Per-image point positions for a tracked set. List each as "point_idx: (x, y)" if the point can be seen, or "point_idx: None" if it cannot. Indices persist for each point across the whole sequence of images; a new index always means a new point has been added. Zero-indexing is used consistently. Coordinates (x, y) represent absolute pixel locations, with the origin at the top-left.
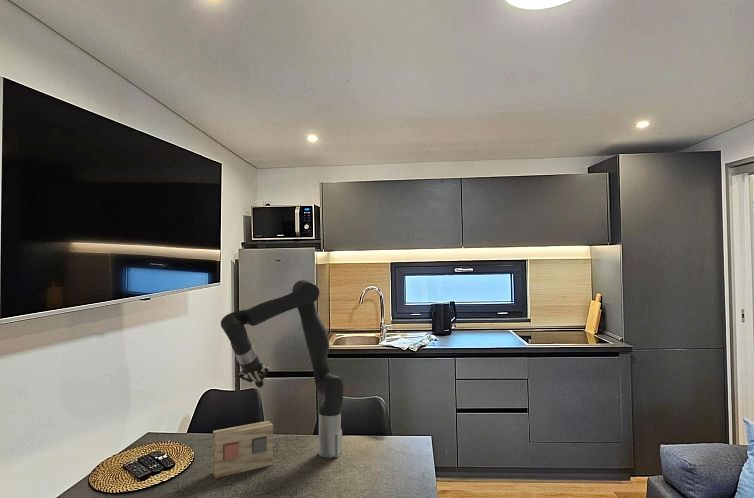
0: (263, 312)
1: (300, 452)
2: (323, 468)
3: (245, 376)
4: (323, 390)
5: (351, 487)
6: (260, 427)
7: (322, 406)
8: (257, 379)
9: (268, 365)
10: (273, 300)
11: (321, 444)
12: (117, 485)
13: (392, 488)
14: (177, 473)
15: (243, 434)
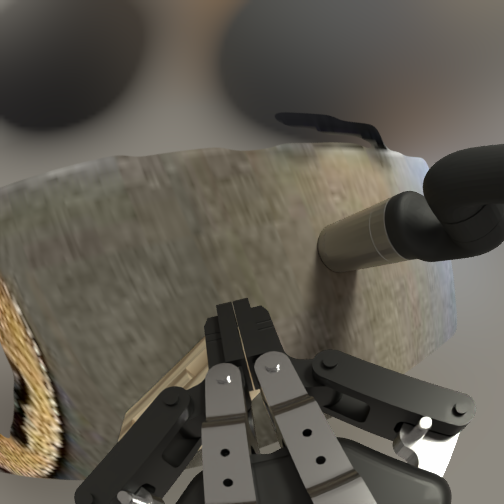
0: None
1: (277, 252)
2: (348, 320)
3: (160, 486)
4: (467, 246)
5: (398, 366)
6: (251, 398)
7: (420, 249)
8: (270, 416)
9: (474, 408)
10: None
11: (346, 266)
12: (11, 458)
13: (433, 343)
14: (56, 418)
15: None
